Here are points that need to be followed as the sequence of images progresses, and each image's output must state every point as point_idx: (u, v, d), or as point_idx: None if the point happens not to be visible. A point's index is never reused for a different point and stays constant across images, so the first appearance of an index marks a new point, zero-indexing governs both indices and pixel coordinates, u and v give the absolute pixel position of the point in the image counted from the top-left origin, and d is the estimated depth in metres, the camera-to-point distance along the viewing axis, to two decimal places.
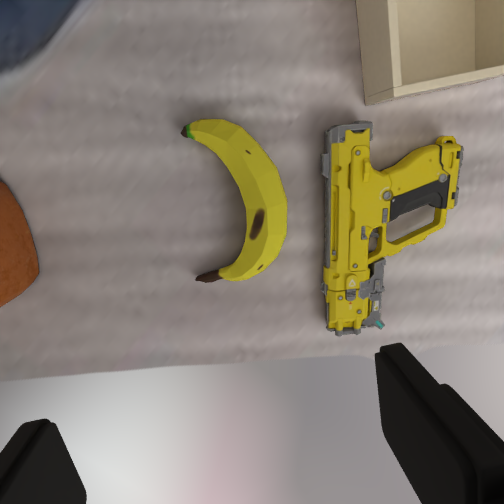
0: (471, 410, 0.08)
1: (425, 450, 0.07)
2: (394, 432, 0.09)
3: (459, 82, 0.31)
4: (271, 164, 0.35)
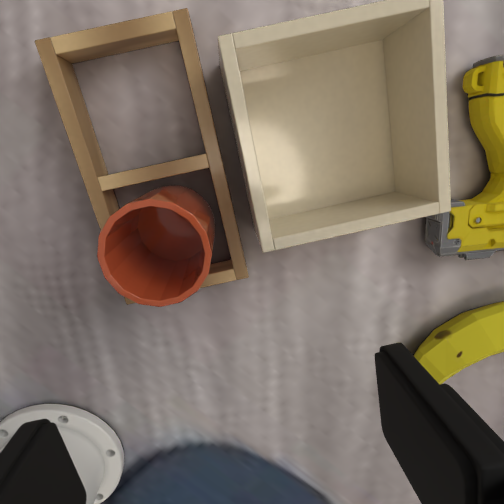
0: (471, 410, 0.08)
1: (425, 450, 0.07)
2: (394, 433, 0.09)
3: (446, 113, 0.21)
4: (473, 324, 0.29)
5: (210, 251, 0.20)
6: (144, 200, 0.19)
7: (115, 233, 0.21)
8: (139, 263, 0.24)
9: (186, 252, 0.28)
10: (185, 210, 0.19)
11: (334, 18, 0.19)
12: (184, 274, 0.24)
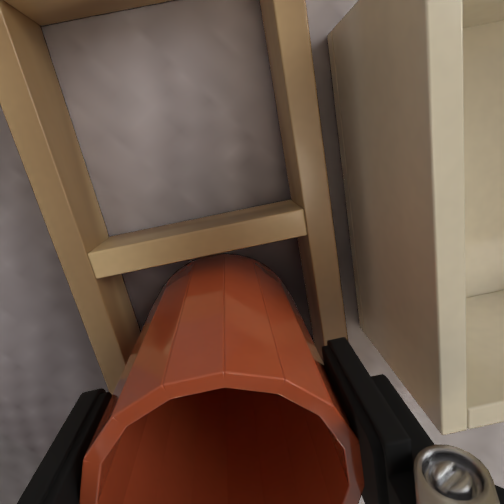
0: (399, 397, 0.09)
1: None
2: None
3: None
4: None
5: (362, 479, 0.08)
6: (208, 373, 0.07)
7: None
8: (168, 421, 0.12)
9: None
10: (313, 393, 0.07)
11: None
12: (256, 445, 0.12)
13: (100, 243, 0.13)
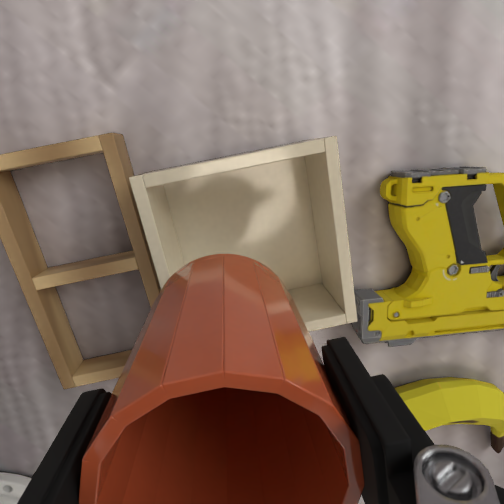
0: (399, 397, 0.09)
1: None
2: None
3: (347, 239, 0.22)
4: None
5: (362, 479, 0.08)
6: (207, 372, 0.07)
7: None
8: (167, 421, 0.12)
9: None
10: (313, 393, 0.07)
11: (237, 162, 0.21)
12: (256, 445, 0.12)
13: (40, 272, 0.27)
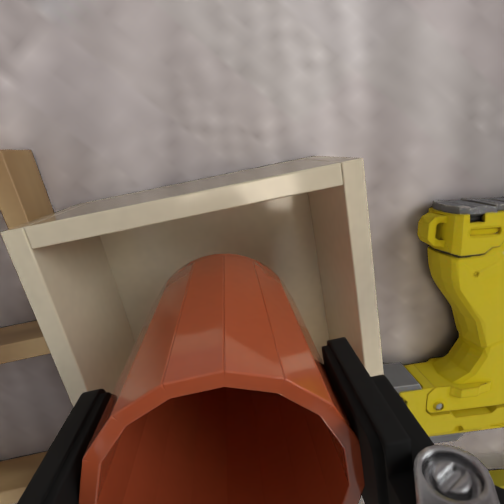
0: (399, 397, 0.09)
1: None
2: None
3: (377, 324, 0.14)
4: None
5: (362, 479, 0.08)
6: (208, 372, 0.07)
7: None
8: (167, 421, 0.12)
9: None
10: (313, 392, 0.07)
11: (190, 203, 0.12)
12: (256, 445, 0.12)
13: None
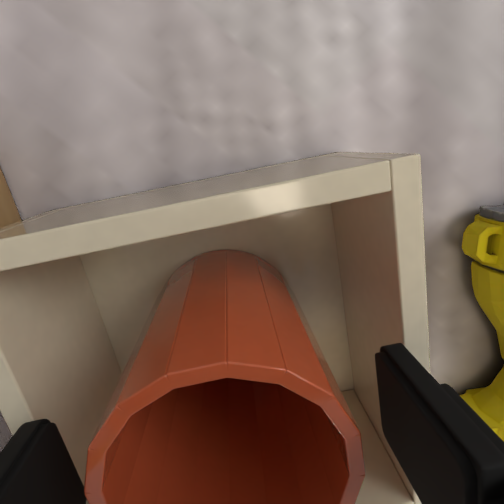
0: (471, 410, 0.08)
1: (425, 450, 0.07)
2: (394, 433, 0.09)
3: None
4: None
5: (363, 470, 0.08)
6: (211, 363, 0.07)
7: None
8: (170, 414, 0.13)
9: None
10: (314, 384, 0.07)
11: (183, 216, 0.09)
12: (258, 438, 0.12)
13: None
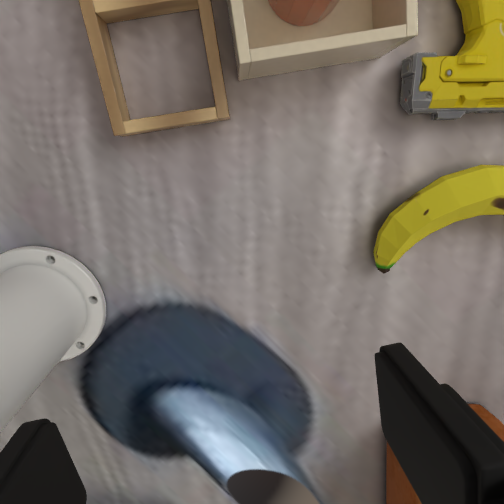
0: (471, 410, 0.08)
1: (425, 450, 0.07)
2: (394, 433, 0.09)
3: None
4: (441, 184, 0.31)
5: None
6: None
7: None
8: None
9: None
10: None
11: None
12: None
13: None
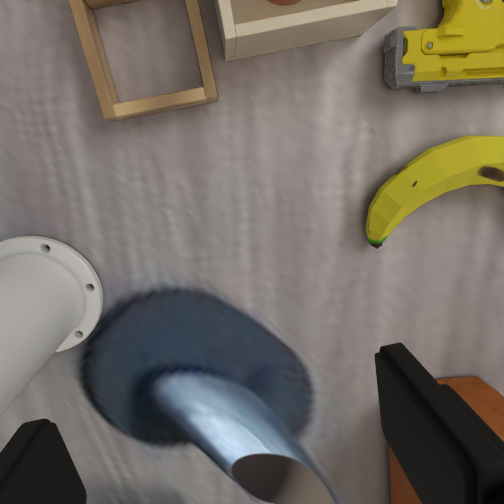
0: (471, 410, 0.08)
1: (425, 450, 0.07)
2: (393, 433, 0.09)
3: None
4: (427, 156, 0.32)
5: None
6: None
7: None
8: None
9: None
10: None
11: None
12: None
13: None
